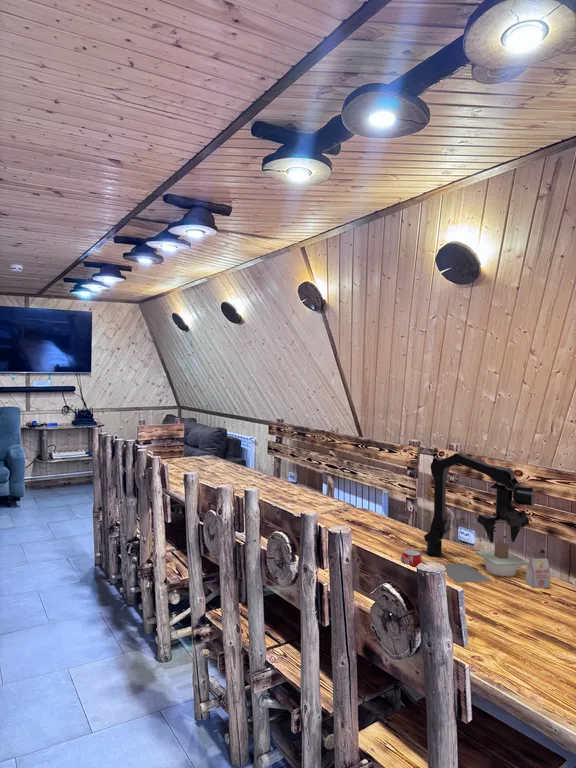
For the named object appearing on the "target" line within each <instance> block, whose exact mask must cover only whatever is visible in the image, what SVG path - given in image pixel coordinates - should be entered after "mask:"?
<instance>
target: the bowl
mask: <svg viewBox="0 0 576 768" xmlns="http://www.w3.org/2000/svg"><path fill="white" fill-rule="evenodd" d="M483 564H484V566H485V570H486V571H487V572H488V573H490V574H493V575H496V576H501V577H502V576H503V577H513V576H515V575H517V571H518V570H519V566H520V565H514V566H495V565H493V564H492V563H490V562H488V561H487V560H485V559H483Z"/></svg>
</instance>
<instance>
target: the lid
mask: <svg viewBox="0 0 576 768" xmlns="http://www.w3.org/2000/svg"><path fill="white" fill-rule="evenodd" d="M474 554H475V555H477V556H478V557H480V558H482V559H483V560H484V559H485V560H487V561H488V562H490V563H492V564H493V565H495V566H514V565H519V566H528V563H529V561H526V560H525V559H523V558H521V557H519V556H518V555H516V554H514V553H512V552H510V551H509V544H507V543H506V542H503V541H499V542H497V541H495V542H494V550H477V551H474Z"/></svg>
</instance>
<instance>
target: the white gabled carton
mask: <svg viewBox="0 0 576 768" xmlns="http://www.w3.org/2000/svg"><path fill="white" fill-rule="evenodd" d="M525 570H526V571H525V584H526V585H528V586H529V587H530V588H534V589H536V588H542V589H544V590H545V589H546V590H547V589H550V586H551V585H550V581H551V580H550V579H551V569H550V566H549V560H548V558H530V559H529V560H528V565H526V569H525Z"/></svg>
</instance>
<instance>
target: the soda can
mask: <svg viewBox="0 0 576 768" xmlns="http://www.w3.org/2000/svg"><path fill="white" fill-rule="evenodd" d="M421 554H422V553H421V551H420V550H417V549H413V548H412V549H411V548H410V549H409V548H407V549H404V550H403V553H402V555H401V561H400V562H402V563H404V564H407V565H410V566H412V567H416V566H417V565H418V564H419V563H422V564H423V557H422V555H421Z"/></svg>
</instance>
